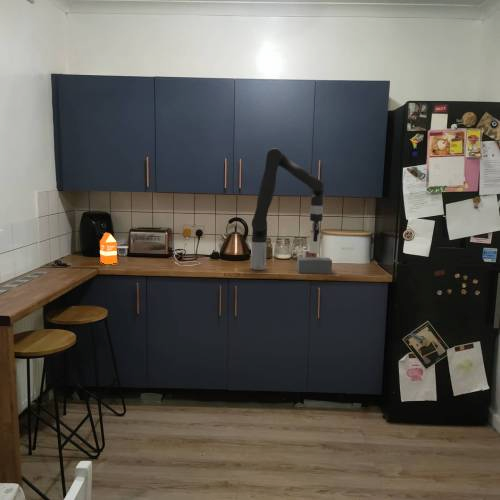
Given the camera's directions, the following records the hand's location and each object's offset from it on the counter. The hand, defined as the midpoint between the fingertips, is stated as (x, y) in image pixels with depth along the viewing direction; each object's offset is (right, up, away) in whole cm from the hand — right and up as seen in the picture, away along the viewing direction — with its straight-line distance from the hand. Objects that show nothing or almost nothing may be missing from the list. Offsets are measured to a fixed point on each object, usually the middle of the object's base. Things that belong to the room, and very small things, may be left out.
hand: (315, 241), depth 281 cm
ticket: (-1, -7, +1) cm, 7 cm away
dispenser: (0, -19, +3) cm, 19 cm away
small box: (-1, -16, +22) cm, 27 cm away
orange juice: (-132, -14, +17) cm, 134 cm away
